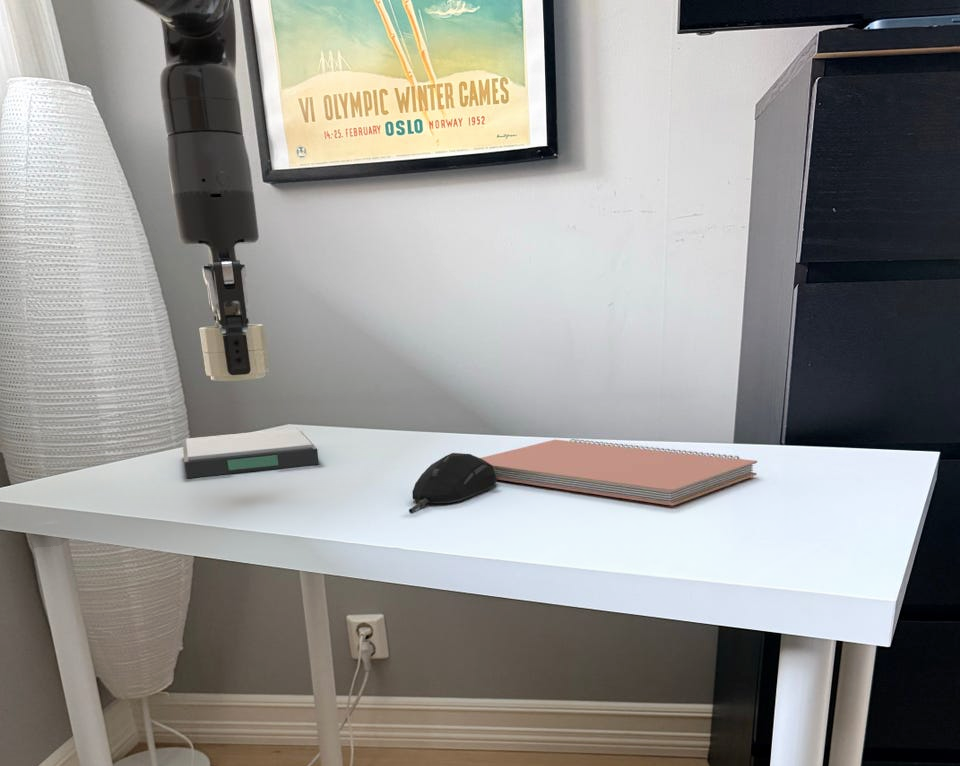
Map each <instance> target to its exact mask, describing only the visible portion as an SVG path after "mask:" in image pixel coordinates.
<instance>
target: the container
mask: <svg viewBox="0 0 960 766" xmlns="http://www.w3.org/2000/svg"><path fill="white" fill-rule="evenodd" d="M264 329H265V328H264V324H259V323H258V324H257V323H255V324H254V323H253V324H251V323H249V324H248V330H247V333H245V334H246V337H247V345H248V353H249V360H250V368H251V371H250V373H249V374H245V375H230V374H229V373H228V370H227V364H226V356H225V349H224V342H223V336H227V335H222V334H221V331H220V330H219V326H216V325H215V326H204V327H203V326H202V327H199V334H200V342H201V350H202V355H203V362H204V370H205V375H206V376H207V377H208V376H209V377H210V380H211V381H215V382H232V381H233V382H234V381H236V382H237V381H246V380H247V381H248V380H254V379H255V380H256V379H261V378H264V377H266V372H269V371H270V369H269V362H268V353H267V345H266V336H265V330H264ZM245 334H242V335H245Z"/></svg>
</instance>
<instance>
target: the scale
mask: <svg viewBox="0 0 960 766" xmlns="http://www.w3.org/2000/svg"><path fill="white" fill-rule="evenodd" d="M182 452H183V463H184V469H185V470H184V471H185V476H186V479H196V478H205V477H215V476H224V475H233V474H242V473H252V472H261V471H271V470H280V469H289V468H297V467H299V468H300V467H307V466H317V465H320V462H319V451H318V448H317V447H316V446H315V445H314V444H313V442H312V441H311V439H309V438H308V436H306V435H305V434H304V433H303V431H302V430H300V429H299V428H298V427H294V428H293V427H291V428H282V429H281V428H280V429H272V430H271V429H270V430H262V431H261V430H260V431H252V432H251V431H250V432H241V433H230V434H229V433H228V434H220V435H210V436H199V437H190V438H189V437H188V438H185V441H183V442H182Z"/></svg>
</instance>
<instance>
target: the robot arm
mask: <svg viewBox="0 0 960 766" xmlns="http://www.w3.org/2000/svg"><path fill="white" fill-rule="evenodd" d="M133 1H134V2H135V3H137V4H139V5H140V6H142V7H143V8H145V9H146V10H148V11H149V12H151V13H153V14H154V15H156V16H157V17H159V20H160V22H161V29H162V37H163V38H162V39H163V46H164V47H163V48H164V57H165V66H164V68H162V71H161V73H160V75H159V77H160V78H159V80H160V81H159V89H160V91H159V92H160V99H161V100H160V101H161V105H162V106H161V107H162V114H163V119H164V120H163V121H164V127H165V133H166V141H167V164H168V165H167V166H168V172H169V180H170V187H171V193H172V199H173V200H172V201H173V206H174V213H175V220H176V227H177V232H178V233H177V234H178V238H179V241H180V243H181V244H182V245H184V246H190V247H191V246H192V247H197V246H198V247H199V246H203V247H205V248H206V249H207V251H208V260H209V261H208V262H209V263H207V265H202V266H201V268H202V276H203V281H204V285H205V286H206V288H207V296H208V303H209V308H210V312H213V313H214V315H213V319H214V320H213V321H215V326H219V330H220V331H221V334H222V335H227V336H223V342H224V349H225V356H226V364H227V370H228V373H229V374H230V375H245V374H249V373H250V371H251V368H250V360H249V353H248V345H247V337H246V334H245V333H247V330H248V324H250V322H249V321H250V320H249V318H248V316H247V312H248V311H249V299H248V293H247V287H246V284H247V270H246V265H245V263H241V261H240V260H239V259H238V260H237V255H236V249H235V247H236V245H249V244H254V243H256V242H257V241H258V240H259V237H260V235H259V225H258V219H257V210H256V201H255V194H254V186H253V178H252V169H251V162H250V158H249V153H248V150H247V149H248V148H247V146H246V139H245V136H244V135H245V133H244V124H243V116H242V108H241V102H240V94H239V91H238V85H237V28H236V25H237V24H236V13H235V4H234V0H133ZM242 334H245V335H242Z"/></svg>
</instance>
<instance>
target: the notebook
mask: <svg viewBox="0 0 960 766" xmlns="http://www.w3.org/2000/svg"><path fill="white" fill-rule="evenodd" d="M480 458H481V459H483V460H484V461H486V462H488V463H489V464H491V465H492V466H493V468H494V471H495V474H496V476H497V481H498V480H499V481H505V482H512V483H517V484H518V483H519V484H526V485H531V486H539V487H545V488H552V489H558V490H565V491H571V492H578V493H579V492H580V493H585V494H592V495H599V496H605V497H613V498H618V499H619V498H620V499H625V500H631V501H638V502H639V501H640V502H646V503H652V504H657V505H659V504H660V505H666V506H675V505H676V506H677V505H679V504H681V503H684V502H687V501H690V500H693V499H695V498H698V497H701V496H703V495H706V494H708V493H711V492H715V491H716V490H720V489H723V488H726V487H728V486H730V485H733V484H736V483H739V482H742V481H744V480H746V479H750V478H752V477H755V476H757V472H753V471H754V465H755V464H757V463H758V460H754V459H743V458H740V456H739V455H731V454H728V455H727V454H725V453H723V454H720V453H713V452H710V453H709V452H708V451H707V452H702V451H699V452H698V451H696V450H694V451H692V450H685V449H682V450H681V449H675V448H664V447H660V448H659V447H653V446H647V445H645V446H643V445H637V444H634V445H633V444H627V443H625V444H623V443H617V442H614V443H613V442H607V441H605V442H604V441H597V440H595V441H594V440H588V439H586V440H584V439H578V438H576V439H575V438H570V439H569V440H565V439H564V440H563V439H552V440H549V441H544V442H540V443H536V444H531V445H528V446H524V447H519V448H515V449H511V450H506V451H503V452H499V453H495V454H491V455H487V456H483V457H480Z"/></svg>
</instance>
